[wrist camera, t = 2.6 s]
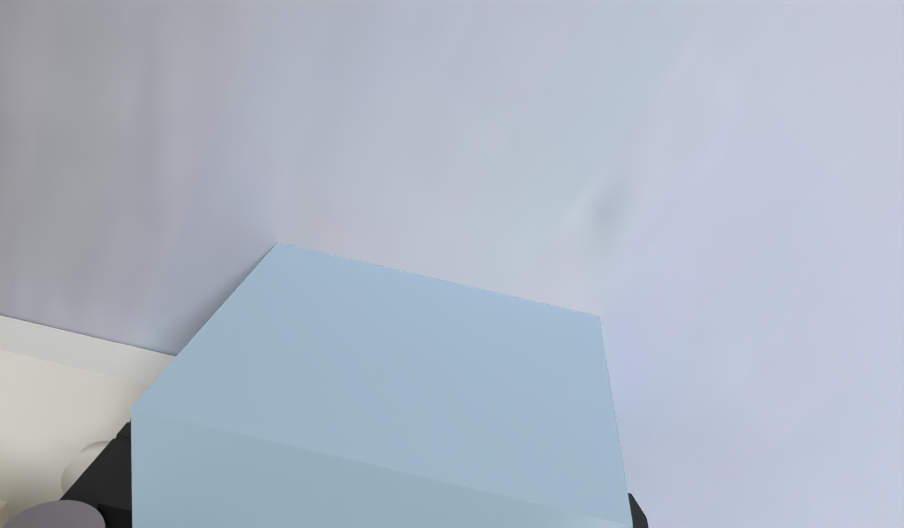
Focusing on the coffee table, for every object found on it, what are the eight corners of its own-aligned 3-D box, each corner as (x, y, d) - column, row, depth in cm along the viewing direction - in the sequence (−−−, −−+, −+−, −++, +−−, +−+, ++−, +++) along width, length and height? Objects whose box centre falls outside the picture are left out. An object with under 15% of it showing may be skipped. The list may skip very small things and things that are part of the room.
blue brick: (278, 241, 13) (130, 407, 8) (598, 315, 12) (632, 526, 8) (255, 485, 15) (134, 714, 11) (521, 548, 15) (512, 807, 10)
